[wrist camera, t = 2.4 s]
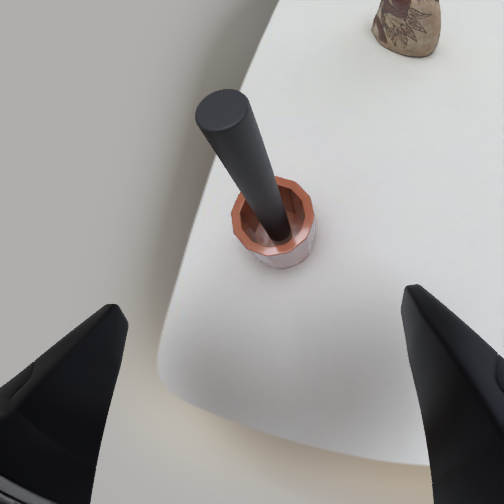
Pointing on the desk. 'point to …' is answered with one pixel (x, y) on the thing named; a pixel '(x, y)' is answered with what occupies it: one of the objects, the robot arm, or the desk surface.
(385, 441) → the desk surface
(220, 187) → the desk surface
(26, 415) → the robot arm
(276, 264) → the stylus holder
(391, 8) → the figurine
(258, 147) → the dark grey rod
